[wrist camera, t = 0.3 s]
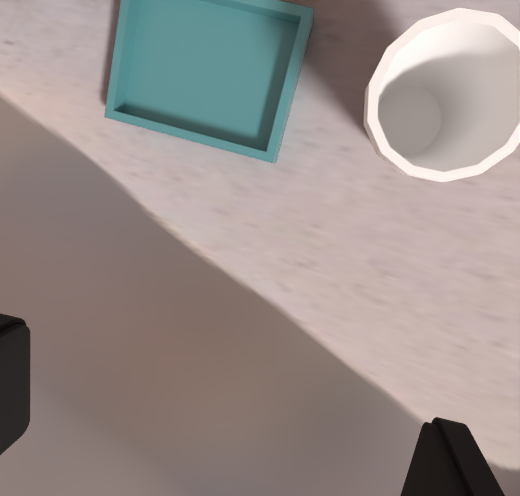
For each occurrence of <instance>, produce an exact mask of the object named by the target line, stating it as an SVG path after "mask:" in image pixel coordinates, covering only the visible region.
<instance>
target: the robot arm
mask: <svg viewBox="0 0 520 496" xmlns="http://www.w3.org/2000/svg"><path fill="white" fill-rule="evenodd" d="M29 422H30V330H29V328H28V327H27V326H26V323H25V321H24V320H23V319H21V318H17V317H13V316H9V315H4V314H0V455H1V454H2V453H3V452H4V451H5V450H6V449H7V448H9V447H10V446H11V445H12V444H13V443H14V442H15V441H16V440H17V439H19V438H20V437H21V436H22V435H23V434H24V432H25V431H26V429H27V427H28V425H29ZM401 496H505V495H504V493H503V492H502V490H501V488H500V486H499V484H498V482H497V480H496V479H495V477H494V475H493V473H492V471H491V469H490V467H489V466H488V464H487V462H486V460H485V458H484V456H483V454H482V453H481V451H480V449H479V447H478V445H477V443H476V441H475V440H474V438H473V436H472V434H471V432H470V430H469V428H468V427H467V426H466V425H465V424H463V423H459V422H455V421H450V420H446V419H442V418H438V417H436V418H434V419H433V421H432V423H428V422H425V423H424V424H423V426H422V428H421V432H420V435H419V438H418V441H417V444H416V448H415V451H414V454H413V458H412V461H411V464H410V467H409V470H408V474H407V477H406V480H405V483H404V487H403V490H402V493H401Z"/></svg>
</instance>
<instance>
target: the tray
mask: <svg viewBox="0 0 520 496" xmlns="http://www.w3.org/2000/svg"><path fill="white" fill-rule="evenodd" d="M313 21H314V13H313V8H310V7H306V6H301V5H297V4H293V3H288V2H284V1H279V0H121V3H120V10H119V17H118V24H117V31H116V38H115V45H114V52H113V59H112V66H111V73H110V81H109V88H108V95H107V102H106V109H105V116H104V117H106V118H110V119H113V120H117V121H121V122H124V123H128V124H132V125H135V126H139V127H143V128H146V129H150V130H154V131H157V132H161V133H165V134H168V135H172V136H175V137H179V138H183V139H186V140H190V141H194V142H197V143H201V144H205V145H208V146H212V147H216V148H219V149H223V150H227V151H230V152H234V153H238V154H241V155H245V156H249V157H252V158H256V159H260V160H263V161H267V162H271V163H276V161H277V157H278V153H279V150H280V146H281V142H282V138H283V135H284V131H285V127H286V123H287V119H288V116H289V112H290V108H291V104H292V101H293V97H294V93H295V89H296V85H297V82H298V78H299V74H300V70H301V67H302V63H303V59H304V55H305V51H306V48H307V44H308V40H309V36H310V32H311V29H312V25H313Z"/></svg>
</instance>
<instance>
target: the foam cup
mask: <svg viewBox="0 0 520 496" xmlns="http://www.w3.org/2000/svg"><path fill="white" fill-rule="evenodd" d="M363 125H364V127H365V129H366V132H367V134H368V136H369V139H370V141H371V143H372V145H373V148H374V150H375V152H376V154H377V155H378V156H379V157H381V158H382V159H383V160H384V161H386V162H387V163H388V164H389V165H391V166H392V167H393V168H394V169H395V170H397V171H398V172H399V173H400V174H405V175H409V176H414V177H418V178H423V179H428V180H432V181H438V182H447V181H451V180H456V179H460V178H465V177H470V176H474V175H479V174H482V173H483V172H484V171H486V170H487V169H489V168H490V167H492V166H493V165H494V164H496V163H497V162H499V161H500V160H502V159H503V158H504V157H506V156H507V155H509V154H510V153H512V152H513V151H514V150H515V149H516V147H517V145H518V144H519V142H520V31H519V30H518V29H516V28H515V27H514V26H513V25H511V24H510V23H509V22H508V21H507V20H505V19H504V18H503V17H502V16H500V15H499V14H494V13H488V12H482V11H476V10H470V9H464V8H457V9H454V10H450V11H447V12H444V13H440V14H437V15H434V16H431V17H427V18H424V19H421V20H419V21H417V22H416V23H415V24H414V25H413V26H412V27H410V28H409V29H408V30H407V31H406V32H405V33H403V34H402V35H401V36H400V37H399V38H398V39H396V40H395V41H394V42H393V43H392V44H391V45H389V46H388V47H387V49H386V51H385V52H384V54H383V56H382V58H381V60H380V62H379V64H378V66H377V68H376V70H375V72H374V74H373V76H372V78H371V80H370V82H369V84H368V86H367V88H366V90H365V102H364V124H363Z"/></svg>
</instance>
